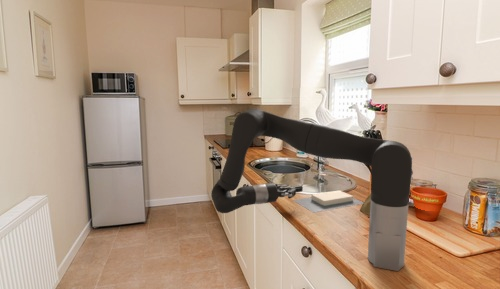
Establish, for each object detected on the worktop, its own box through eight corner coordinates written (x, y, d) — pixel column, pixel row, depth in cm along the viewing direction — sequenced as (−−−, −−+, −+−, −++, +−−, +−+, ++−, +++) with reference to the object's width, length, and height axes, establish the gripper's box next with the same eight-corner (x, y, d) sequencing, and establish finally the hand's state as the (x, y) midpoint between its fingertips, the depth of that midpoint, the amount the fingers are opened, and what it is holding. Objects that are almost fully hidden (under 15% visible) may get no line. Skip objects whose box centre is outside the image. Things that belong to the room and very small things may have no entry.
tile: (324, 200, 121) (353, 196, 127) (311, 194, 130) (339, 190, 135) (324, 206, 122) (353, 201, 127) (311, 200, 130) (339, 195, 136)
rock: (397, 217, 107) (386, 204, 117) (385, 200, 106) (375, 188, 115) (371, 233, 109) (362, 219, 119) (359, 216, 108) (351, 203, 117)
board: (313, 215, 116) (313, 212, 116) (292, 202, 130) (292, 200, 130) (365, 205, 126) (365, 203, 126) (340, 195, 140) (340, 192, 140)
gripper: (270, 188, 108) (311, 183, 115) (256, 180, 121) (293, 175, 127) (270, 208, 110) (310, 202, 116) (256, 197, 122) (293, 192, 128)
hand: (301, 188), depth 122 cm, fingers closed
